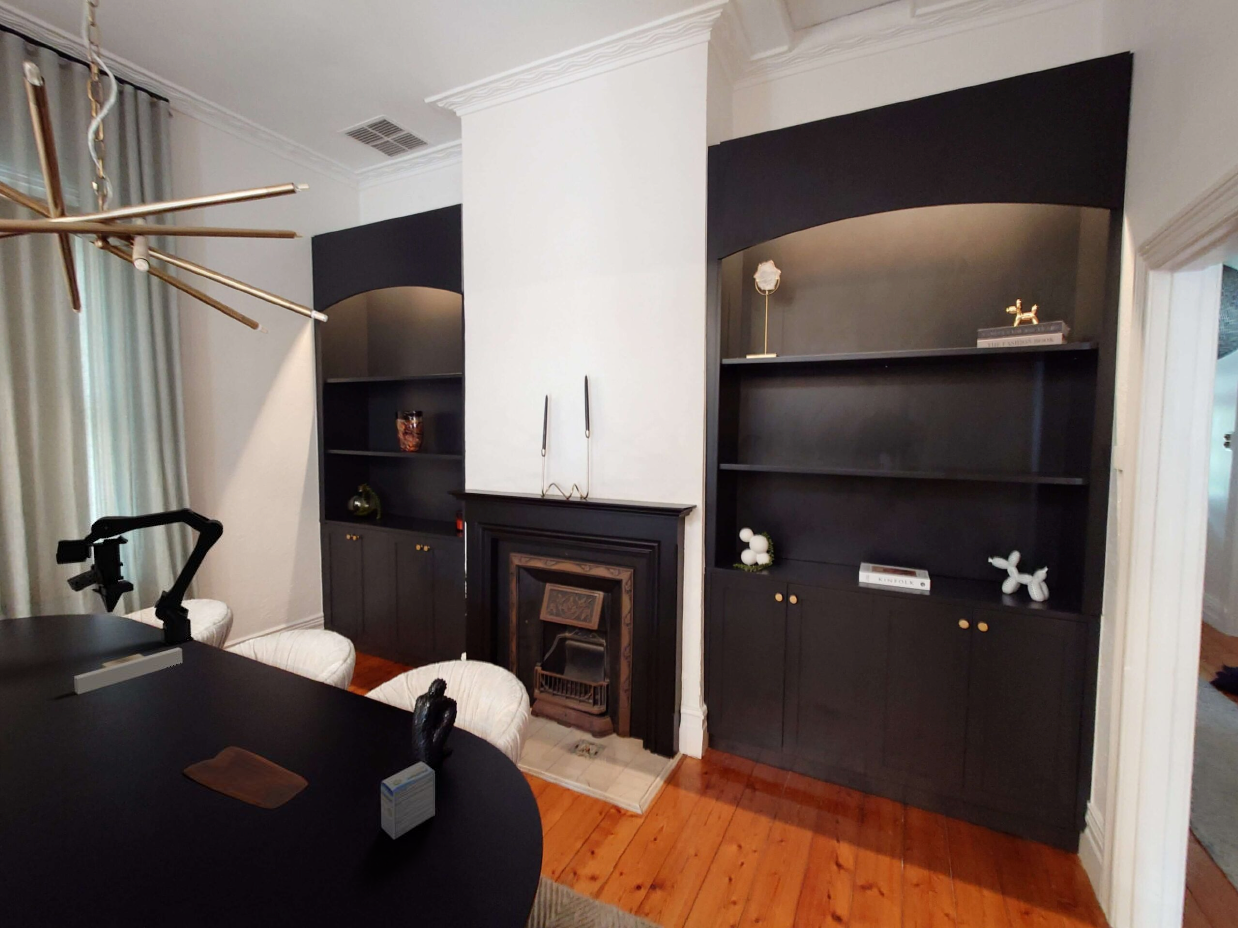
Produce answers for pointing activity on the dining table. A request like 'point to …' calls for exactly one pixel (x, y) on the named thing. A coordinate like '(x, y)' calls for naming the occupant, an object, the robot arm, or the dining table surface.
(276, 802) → the wooden tablet
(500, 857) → the dining table surface
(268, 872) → the dining table surface
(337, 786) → the dining table surface
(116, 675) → the fence bar
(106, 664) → the maple block
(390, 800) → the medicine box
